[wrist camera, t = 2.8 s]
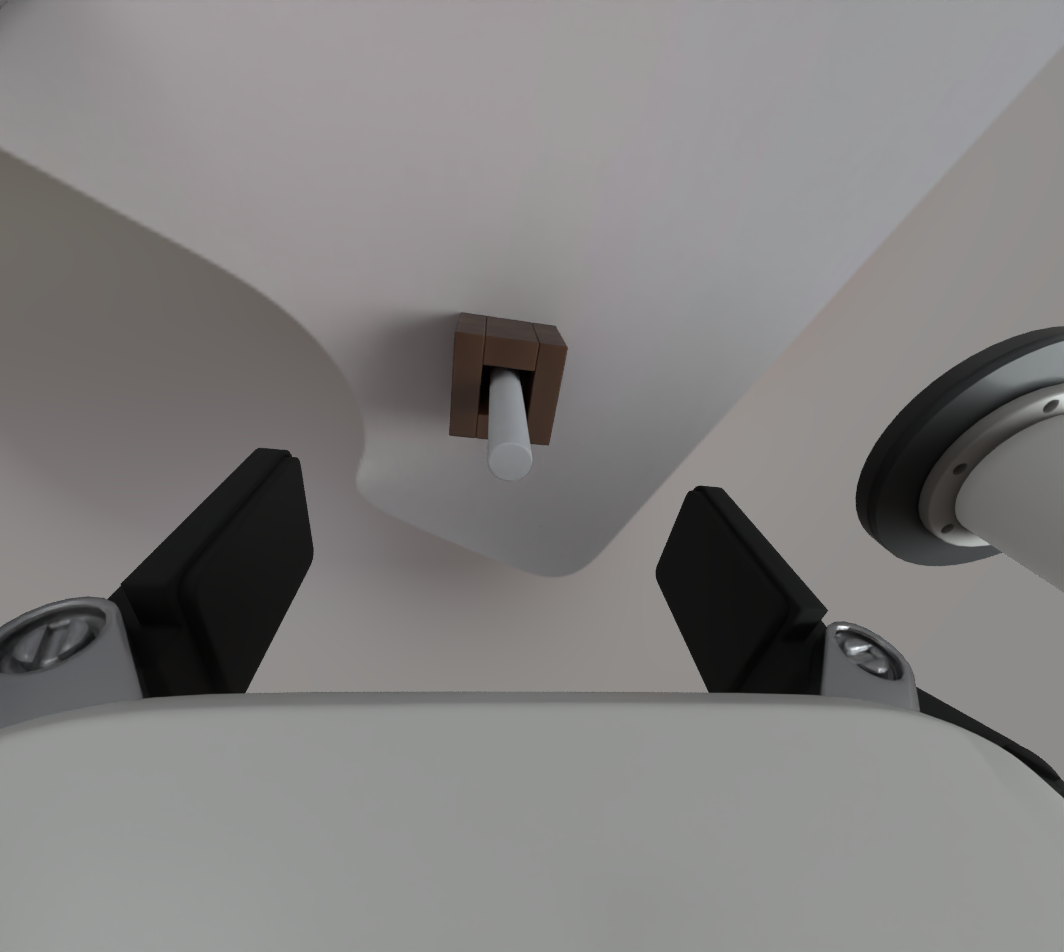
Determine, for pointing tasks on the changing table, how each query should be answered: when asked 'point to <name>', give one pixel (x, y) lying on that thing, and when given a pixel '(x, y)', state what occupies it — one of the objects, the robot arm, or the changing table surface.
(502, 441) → the stylus
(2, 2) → the apple
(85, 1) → the changing table surface
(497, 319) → the pen block
